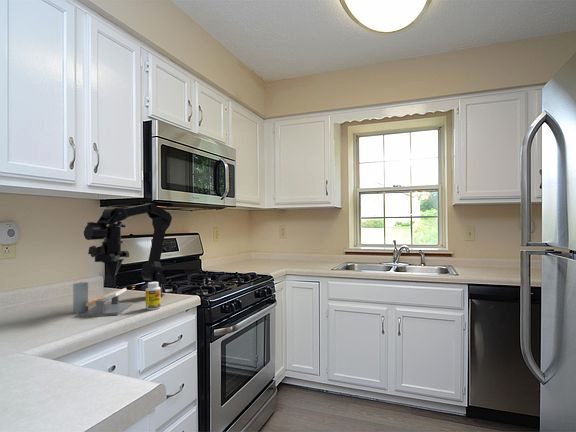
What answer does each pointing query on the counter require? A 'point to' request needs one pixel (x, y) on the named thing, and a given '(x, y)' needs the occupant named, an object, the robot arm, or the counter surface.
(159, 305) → the supplement bottle
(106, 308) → the switch base
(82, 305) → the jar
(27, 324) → the counter surface
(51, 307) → the counter surface
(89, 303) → the two-tone square pad
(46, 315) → the counter surface
